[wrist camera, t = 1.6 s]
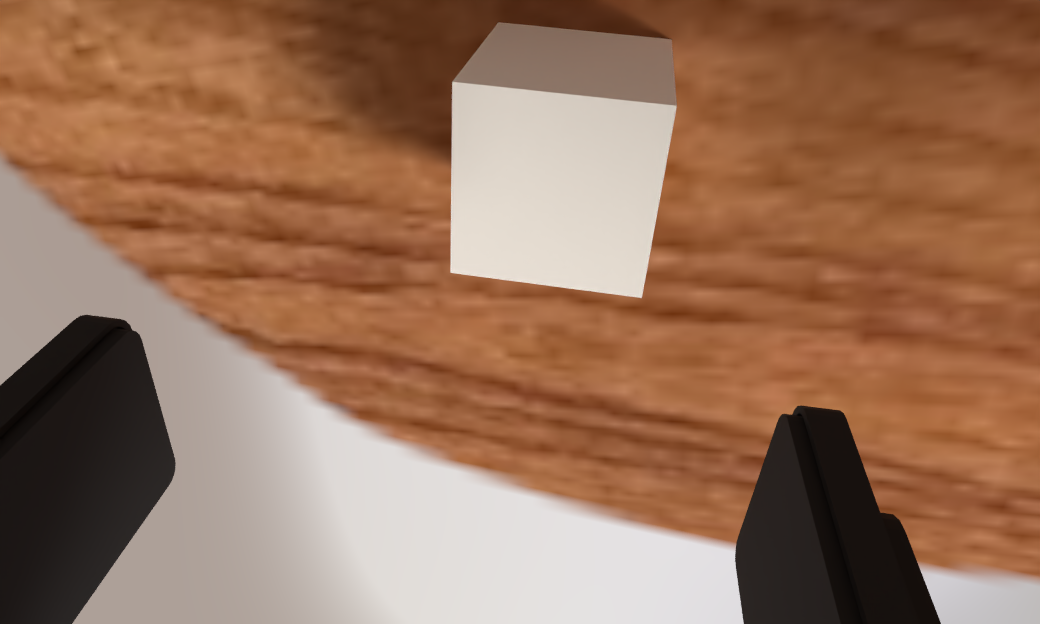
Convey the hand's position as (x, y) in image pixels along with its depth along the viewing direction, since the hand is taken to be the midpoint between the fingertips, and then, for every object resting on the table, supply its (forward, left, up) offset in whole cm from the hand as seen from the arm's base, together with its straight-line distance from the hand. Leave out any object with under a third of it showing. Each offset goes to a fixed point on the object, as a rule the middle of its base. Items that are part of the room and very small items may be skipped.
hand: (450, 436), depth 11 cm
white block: (-1, 0, -14) cm, 14 cm away
